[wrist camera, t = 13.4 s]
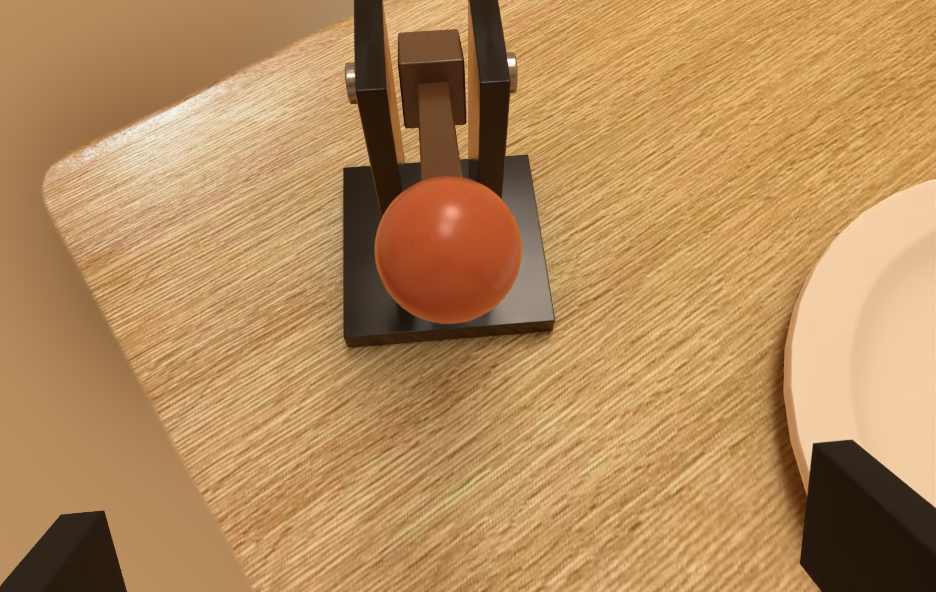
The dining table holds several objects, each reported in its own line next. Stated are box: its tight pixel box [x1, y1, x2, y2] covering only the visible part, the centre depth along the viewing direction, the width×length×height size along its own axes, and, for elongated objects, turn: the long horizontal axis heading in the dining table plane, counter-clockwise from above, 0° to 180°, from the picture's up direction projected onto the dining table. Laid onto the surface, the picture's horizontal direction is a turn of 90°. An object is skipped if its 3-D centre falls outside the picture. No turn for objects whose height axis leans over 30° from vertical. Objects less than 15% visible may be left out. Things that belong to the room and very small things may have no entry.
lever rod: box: [375, 29, 522, 324], centre depth 20 cm, size 13×4×4 cm, turn 5°
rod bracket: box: [343, 0, 555, 347], centre depth 28 cm, size 10×10×14 cm
